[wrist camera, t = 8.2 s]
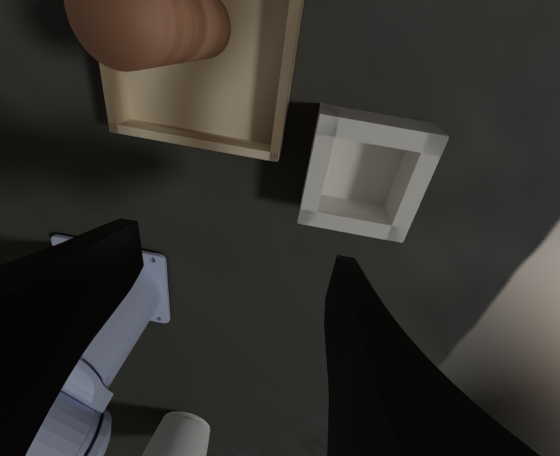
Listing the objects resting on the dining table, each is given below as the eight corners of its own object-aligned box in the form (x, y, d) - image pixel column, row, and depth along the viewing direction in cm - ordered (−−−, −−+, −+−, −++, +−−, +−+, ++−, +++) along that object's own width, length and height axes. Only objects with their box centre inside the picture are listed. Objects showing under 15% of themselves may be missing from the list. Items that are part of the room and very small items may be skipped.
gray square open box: (300, 201, 21) (297, 223, 18) (320, 103, 18) (319, 113, 15) (393, 218, 21) (402, 242, 18) (430, 122, 17) (449, 136, 15)
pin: (176, 55, 17) (77, 65, 10) (171, -15, 15) (50, -58, 8) (230, 61, 17) (167, 77, 10) (231, -8, 15) (156, -46, 8)
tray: (128, 123, 20) (109, 131, 18) (94, -159, 13) (60, -188, 12) (281, 151, 19) (277, 162, 18) (322, -123, 13) (322, -147, 11)
